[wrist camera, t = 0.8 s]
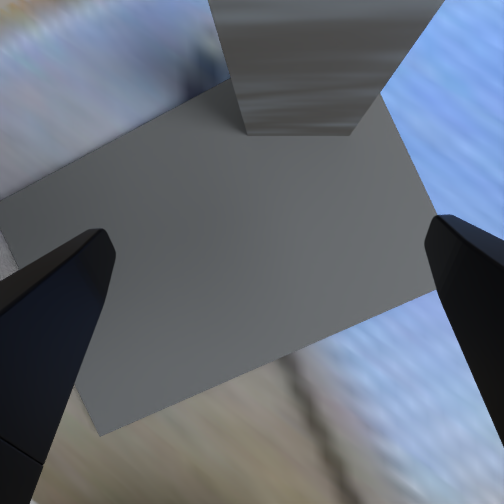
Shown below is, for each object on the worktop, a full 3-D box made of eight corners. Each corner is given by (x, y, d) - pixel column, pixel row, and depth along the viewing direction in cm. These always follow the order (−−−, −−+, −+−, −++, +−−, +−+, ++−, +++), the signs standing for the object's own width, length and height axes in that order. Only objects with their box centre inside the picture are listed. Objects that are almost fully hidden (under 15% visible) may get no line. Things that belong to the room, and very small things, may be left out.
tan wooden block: (349, 135, 21) (471, -39, 8) (247, 135, 21) (199, -27, 8) (351, 87, 20) (479, -173, 7) (249, 88, 21) (202, -153, 8)
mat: (461, 274, 21) (466, 276, 20) (104, 431, 23) (99, 436, 23) (342, 23, 21) (344, 17, 20) (-4, 207, 23) (-11, 206, 23)
